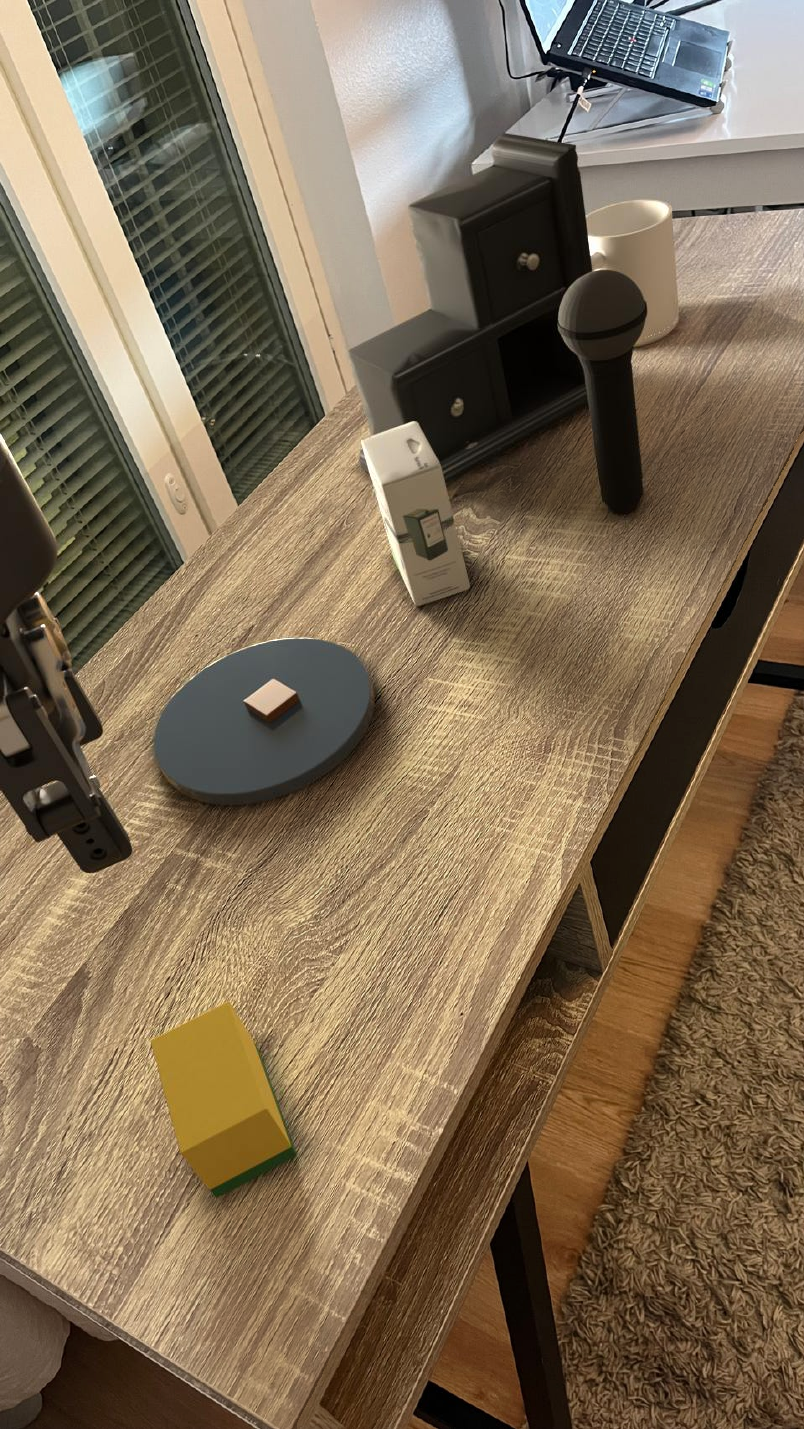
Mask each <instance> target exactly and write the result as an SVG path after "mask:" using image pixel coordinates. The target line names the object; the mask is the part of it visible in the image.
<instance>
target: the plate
mask: <svg viewBox="0 0 804 1429" xmlns="http://www.w3.org/2000/svg"><path fill="white" fill-rule="evenodd" d="M272 679H275V680H277V681H278V682H280V683H282V684H283V685H285V686H287V687H288V688H290V689H292V690H293V691H295V692H297V694H298V697H299V699H300V700H299V701H298V702H297V703H295V704H294V705H293V706H292V707H290V708H289V709H288V710H286V711H285V712H284V713H283V714H281V715H280V716H279V717H277V718H276V719H275V720H273V721H272V722H271V723H268V722H267V721H265V720H264V719H262V718H261V717H259V716H258V715H256V714H255V713H253V712H251V711H250V710H248V709H247V708H246V706H245V703H244V700H246V699H247V698H248V697H250V696H251V695H252V694H254V693H255V692H256V691H258V690H259V689H260V688H262V687H263V686H264V685H266V684H267V683H268V682H270V681H271V680H272ZM375 703H376V698H375V689H374V686H373V682H372V680H371V676H370V673H369V671H368V669H367V667H366V666H365V664H364V663H363V661H362V660H361V659H360V658H359V657H358V656H357V655H356V654H355V653H353V652H352V651H351V650H349V649H348V648H346V647H344V646H342V645H340V644H337V643H335V642H332V641H328V640H324V639H319V638H313V637H312V638H311V637H289V638H288V637H287V638H280V639H279V638H278V639H273V640H268V641H264V642H259V643H256V644H252V645H250V646H247V647H244V648H241V649H238V650H236V651H234V652H231V653H229V654H227V655H225V656H223V657H221V658H219V659H217V660H216V661H214V662H212V663H211V664H209V665H207V666H205V667H204V668H203V669H201V670H200V671H199V672H197V673H196V674H195V675H193V676H192V677H191V678H189V679H188V680H187V681H186V682H185V683H184V684H183V685H182V686H181V687H180V688H179V689H178V690H177V691H176V693H174V695H173V696H172V697H171V698H170V700H169V701H168V702H167V704H166V705H165V707H164V708H163V710H162V712H161V713H160V716H159V718H158V720H157V722H156V726H155V729H154V734H153V752H154V757H155V760H156V762H157V764H158V766H159V769H160V771H161V772H162V774H163V776H164V778H165V779H166V780H167V781H168V783H169V784H170V785H171V786H172V787H173V788H174V789H175V790H176V791H178V792H179V793H181V794H183V795H184V796H186V797H188V798H190V799H193V800H195V801H198V802H202V803H206V804H211V805H219V806H244V805H251V804H252V805H253V804H259V803H262V802H267V801H272V800H274V799H277V798H280V797H284V796H287V795H289V794H291V793H294V792H296V791H298V790H301V789H303V788H305V787H307V786H309V785H310V784H312V783H314V782H316V781H317V780H319V779H321V778H322V777H324V776H325V775H327V774H328V773H329V772H331V771H333V769H335V768H336V767H337V766H338V765H340V764H341V763H342V762H343V761H344V760H345V759H346V758H347V757H348V756H349V755H350V754H351V753H352V752H353V750H354V749H355V748H356V747H357V746H358V745H359V743H360V742H361V740H362V739H363V737H364V736H365V734H366V732H367V731H368V728H369V726H370V724H371V721H372V719H373V714H374V711H375Z"/></svg>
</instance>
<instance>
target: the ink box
mask: <svg viewBox="0 0 804 1429" xmlns="http://www.w3.org/2000/svg"><path fill="white" fill-rule="evenodd" d="M360 443H361V447H362V449H363V451H364V454H365V458H366V462H367V465H368V469H369V472H370V473H369V472H368V473H369V475H370V478H371V479H370V480H371V483H372V486H373V489H374V493H375V497H376V501H377V504H378V507H379V511H380V514H381V518H382V522H383V525H384V528H385V532H386V536H387V539H388V542H389V547H390V550H391V554H392V558H393V560H394V562H395V565H396V567H397V569H398V572H399V574H400V576H401V578H402V580H403V582H404V584H405V586H406V589H407V591H408V593H409V595H410V597H411V599H412V601H413V603H414V605H415V606H416V607H420V606H421V607H422V606H425V605H426V604H431V603H433V602H437V601H438V600H442V599H444V598H447V597H450V596H453V595H456V594H458V593H463V592H465V591H467V590H469V589H470V588H471V585H470V584H471V583H470V580H469V576H468V572H467V567H466V563H465V559H464V556H463V551H462V547H461V543H460V539H459V535H458V531H457V526H456V522H455V518H454V514H453V510H452V505H451V501H450V498H449V494H448V489H447V485H445V481H444V476H443V472H442V468H441V465H440V463H439V460H438V459H437V457H436V455H435V454H434V452H433V450H432V448H431V446H430V444H429V443H428V441H427V439H426V437H425V435H424V433H423V431H422V430H421V428H420V426H419V423H417V422H416V421H415V422H414V421H413V422H409V423H407V424H404V425H401V426H398V427H396V428H393V429H390V430H387V431H384V432H381V433H378V434H375V435H372V436H371V435H370V436H367V437H364V438H361V440H360Z"/></svg>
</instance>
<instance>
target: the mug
mask: <svg viewBox="0 0 804 1429" xmlns="http://www.w3.org/2000/svg"><path fill="white" fill-rule="evenodd" d="M585 215H586V223H587V230H588V239H589V247H590V255H591V262H592V270H593V271H596V270H613V271H617V272H620V273H622V274H624V275H626V276H628V277H629V278H630V279H631V280H633V281H634V282H635V284H636V285H637V286H638V288H639V289H640V290H641V293H642V295H643V297H644V300H645V301H646V304H647V312H648V313H647V317H646V320H645V324H644V329H643V331H642V333H641V336H640V337H639V339H638V340H637V342H636V343H635V345H634V348H637V347H642V346H646V345H649V344H652V343H655V342H657V341H659V340H662V339H663V338H664V337H666V336H667V335H669V334H670V333H671V332H672V331H673V330H674V329H675V328H676V326H677V324H678V323H679V310H680V309H679V296H678V281H677V280H678V279H677V266H676V251H675V237H674V236H675V234H674V220H673V207H672V206H671V205H670V203H668V202H665V201H663V200H658V199H647V198H646V199H645V198H644V199H634V200H631V199H630V200H626V201H619V202H615V203H613V204H609V205H606V206H603V207H600V208H598V209H595V210H593V211H591V212H589V213H588V214H585ZM677 317H678V318H677ZM676 319H677V320H676ZM675 321H676V322H675ZM674 322H675V323H674ZM673 323H674V324H673ZM668 327H669V328H668ZM664 329H665V330H664ZM659 332H660V333H659ZM654 334H655V335H654ZM651 335H652V336H651ZM648 336H649V337H648ZM645 337H646V338H645Z"/></svg>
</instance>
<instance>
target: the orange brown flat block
mask: <svg viewBox="0 0 804 1429" xmlns="http://www.w3.org/2000/svg"><path fill="white" fill-rule="evenodd" d="M299 700H300V699H299V697H298V694H297V692H295V691H293V690H292V689H290V688H288V687H287V686H285V685H283V684H282V683H280V682H278V681H277V680H275V679H272V680H271V681H270V682H268V683H267V684H266V685H264V686H263V687H262V688H260V689H259V690H258V691H256V692H255V693H254V694H252V695H251V696H250V697H248V698H247V699H246V700H244V703H245V706H246V708H247V709H248V710H250V711H251V712H253V713H255V714H256V715H258V716H259V717H261V718H262V719H264V720H265V721H267V722H268V723H271V722H272V721H273V720H275V719H276V718H277V717H279V716H280V715H281V714H283V713H284V712H285V711H286V710H288V709H289V708H290V707H292V706H293V705H294V704H295V703H297V702H298V701H299Z"/></svg>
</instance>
